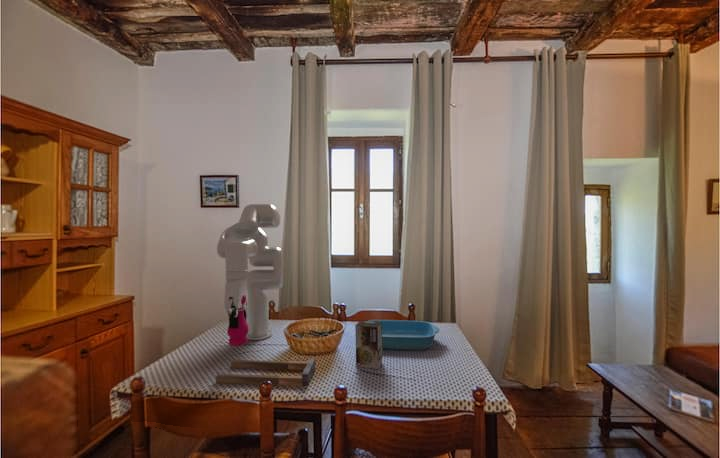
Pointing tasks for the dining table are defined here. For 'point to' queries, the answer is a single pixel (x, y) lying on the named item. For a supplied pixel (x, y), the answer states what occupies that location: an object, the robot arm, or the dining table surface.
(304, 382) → the guide channel
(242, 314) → the pepper mill
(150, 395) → the dining table surface
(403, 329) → the casserole dish
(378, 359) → the coffee box
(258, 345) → the dining table surface
